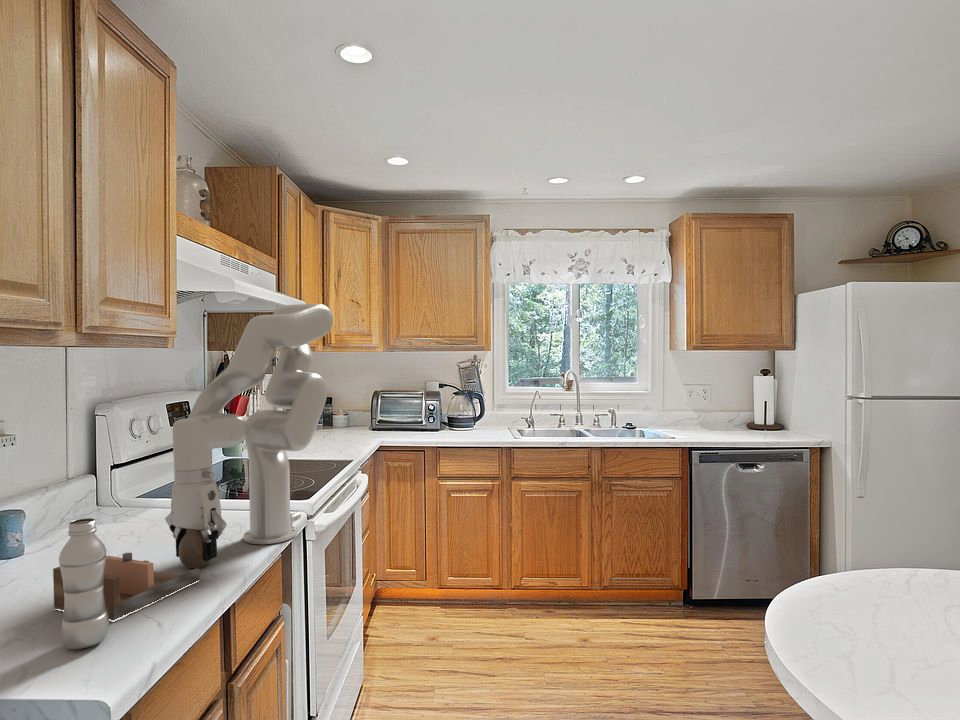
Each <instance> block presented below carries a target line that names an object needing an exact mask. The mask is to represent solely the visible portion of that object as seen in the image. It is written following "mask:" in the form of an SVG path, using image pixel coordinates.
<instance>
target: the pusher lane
mask: <svg viewBox="0 0 960 720" xmlns="http://www.w3.org/2000/svg"><path fill="white" fill-rule="evenodd" d="M143 561H144V562H150V561H149V560H143ZM153 573H154V587H153V588H150V589H148V590H146V591H144V592H141V593H139V594H137V595H135V596H133V595H128V594H122V593H120V578H119V577H116V576H111V575H105V574H104V583H103V585H104V587H103V592H104V599H105V607H106V611H107V614H108V619H111V620H115V619H117V618H119V617H122V616H123V615H126V614H128V613H130V612H133V611H135V610H137V609H140V608H142V607H144V606H146V605H148V604H151V603H152V602H155V601H157V600H159V599H161V598H162V597H165V596H166V595H169V594H171V593H173V592H175V591H177V590H179V589H181V588H183V587H185V586H187V585H189V584H192V583H194V582H196V581H198V580H200V581H201V569H200V568H195V569H189V571H186V572H184V573H182V574H173V573H168V572H167V573H166V572H160V571H157V570H155V571H154V570H153ZM52 581H53V610H54V609H60V610H64V600H65V598H64V588H63V579H62V575H61V570H60V566H57V567H54V568H52Z"/></svg>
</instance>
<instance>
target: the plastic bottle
mask: <svg viewBox="0 0 960 720" xmlns="http://www.w3.org/2000/svg"><path fill="white" fill-rule="evenodd" d="M97 530H98V529H97V522H96V518H93V517H85V518H84V517H83V518H79V519H75V520H72V521H70V522H69V523H68V531H67V535H68V536H69V537H70V538H69V539H68V540H67V542H66V543H65V544H64V545H63V547H62V549H61V551H60V552H59V556H58V563H59V564H58V565H59V567H60V570H61V575H62V579H63V588H64V598H65V600H64V612H63V619H62V623H61V628H60V638H61V641H62V644H63V646H65V647H66V648H67V649H69V650H83V649H87V648H90V647H92V646H93V647H94V646H96V645H97V644H99V643H101V642H102V641H103V640H104V639H105V638H106V636H107V634H108V633H109V627H110V622H109V619H108V614H107V611H106V607H105V599H104V592H103V587H104V585H103V583H104V568H105V560H106V556H107V548H106V546H105V543H104V542H103V541H102V540H101V539H100V538H99V537H98V536H97V535H96V532H97Z"/></svg>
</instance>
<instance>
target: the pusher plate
mask: <svg viewBox="0 0 960 720" xmlns="http://www.w3.org/2000/svg"><path fill="white" fill-rule="evenodd" d="M153 571H154V562H150V561H149V562H144V560H137V559H133V553H132V552H125V553H122V557H120V556H119V557H118V556H112V555H106V560H105V568H104V574H105V575H111V576H116V577H119V578H120V593H122V594H128V595H133V596H135V595H137V594H139V593H141V592H144V591H146V590H148V589H150V588H153V587H154V573H153Z"/></svg>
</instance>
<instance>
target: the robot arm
mask: <svg viewBox="0 0 960 720" xmlns="http://www.w3.org/2000/svg"><path fill="white" fill-rule="evenodd" d="M333 326H334V316H333V313H332V311H331V309H330V308H329V307H327V306H326V305H325V304H322V303H306V304H305V303H302V304H301V303H300V304H287V305H282V306H280V307H278V308H276V309H275V310H274V312H273V314H262V315H256V316H254V317H252V318H251V319H250V320H249V321H248V323H247V324H246V325H245V328H244V331H243V333H242V335H241V337H240V339H239V342H238V344H237V346H236V349H235V350H234V353H233V354H232V357H231V359H230V361H229V364H228V365H227V367H226V368H225V369H224V370H223V371H222V372H221V373H220V374H218V375H217V376H216V377H215V378H214V379H213V380H212V381H211V382H210V383H209V384H207V386H206V387H205V388H204V389H203V390H202V391H201V392H200V394H199V395H198V397H197V398H196V400H195V402H194V404H193V406H192V409H191V411H190V413H189V416H188V418H182V419H178V420H176V421H175V422H173V424H172V451H173V454H172V455H173V476H174V477H173V478H174V482H173V484H172V490H171V498H170V499H171V500H170V513H168V515H167V516H166V517H164V518H165V519H164V521H165V522H166V523H167V525H168V526H169V529H170V531H171V532H172V537H173V539H175V556H176V558H179V545H180V542H181V540H182V538H183V536H184V535H185V534H186V532H187V531H188V529H192V530H201V532H202V534H203V537H204V539H205V543H203V558H204V561H209V560H210V561H211V560H213V559H215V558H217V557H218V545H217V544H218V543H217V541H218V540H219V538H220V536H221V535H222V534H223V532H224V530H225V529H226V527H227V526H228V523H227V522H226V521H225V520H224V519H223V518H222V507H221V500H220V499H221V498H220V492H219V489H218V484H217V481H216V480H214V478H215V475H216V474H215V472H213V450H214V449H224V448H225V449H228V448H234V447H236V446H239V445H241V444H242V443H243V442H244V441H245V445H246V446H245V447H246V449H247V450H246V451H247V456H248V481H249V483H248V484H249V486H248V488H249V490H248V491H249V494H248V496H249V530H247V531H246V532H244V533H243V536H242V537H243V540H244V542H245V543H248V544H253V545H270V544H271V545H272V544H278V543H282V542H283V543H284V542H286V541H289V540H292V539H293V538H295V537H296V536H297V534H298V530H297V528H296V527H295V526H293V523H295V521H298V520H301V518H302V517H301V516H302V514H301V513H300V512H298V511H297V512H294V513H291V482H290V480H291V479H290V478H291V476H290V474H291V473H290V472H291V471H290V462H289V458H288V455H287V453H286V452H300V451H302V450H305V449H306V448H307V447H308V446H309V444H310V443H311V442H312V439H313V438H314V436H315V433H316V430H317V427H318V425H319V422H320V419H321V416H322V413H323V410H324V408H325V405H326V402H327V396H328V388H327V386H328V385H327V383H326V382H325V379H324V378H323V377H322V375H320V374H318V373H315V372H311V371H310V370H311V368H312V365H313V360H314V359H313V358H314V357H313V352H312V350H311V347H310V345H309V344H311V343H312V342H315V341H317V340H319V339H321V338H323V337H325V336H327V335H329V332H331V330H332V328H333ZM277 350H279V356H278V358H277V361H276V364H275V366H274V369H273V370H272V373H271V376H270V378H269V381H268V383H267V384H266V385H267V386H266V389H265V395H264V396H265V400H266V402H267V403H268V404H269V405H270V406H271V407H273V408H278V409H285V410H277V409H276V410H275V409H274V410H272V409H271V410H270V409H264V410H263V409H262V410H258V411H255V412H253V413H252V414H250V415H249V416H248V418H247V419H246V420H245V419H244V418H243V417H242V416H241V415H237V414H234V413H223V412H222V411H223V409H224V408H225V407H226V405H228V403H229V402H230V401H231V400H233V399H234V398H236V397H237V396H239V395H240V394H242V393H244V392H247V391H249V390H250V389H251V390H252V389H253V388H255V387H256V386H259V385H260V384H261V383H262V382H263V381H264V380H265V377H266V375H267V372H268V370H269V367H270V365H271V362H272V359H273V358H274V356H275V353H276V351H277ZM286 410H288V411H286ZM209 531H210V533H209ZM209 534H210V535H209ZM210 561H209V562H210Z"/></svg>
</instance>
